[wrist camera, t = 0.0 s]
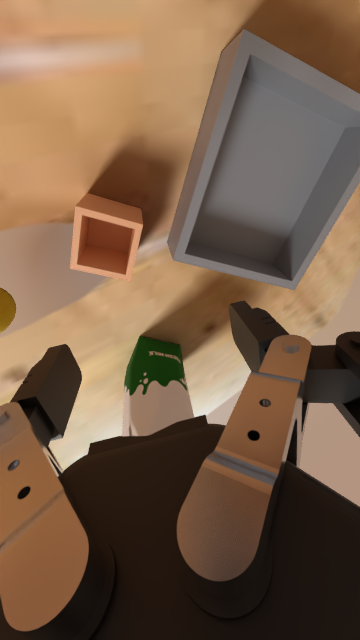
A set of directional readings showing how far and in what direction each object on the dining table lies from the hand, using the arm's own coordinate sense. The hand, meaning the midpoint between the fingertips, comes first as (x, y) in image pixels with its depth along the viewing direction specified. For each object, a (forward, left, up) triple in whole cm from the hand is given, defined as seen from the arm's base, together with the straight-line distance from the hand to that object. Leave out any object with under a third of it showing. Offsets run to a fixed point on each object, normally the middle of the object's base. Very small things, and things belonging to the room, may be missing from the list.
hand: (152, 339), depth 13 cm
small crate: (+1, -3, -22) cm, 23 cm away
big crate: (-8, +12, -22) cm, 26 cm away
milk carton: (+20, +7, -23) cm, 31 cm away
